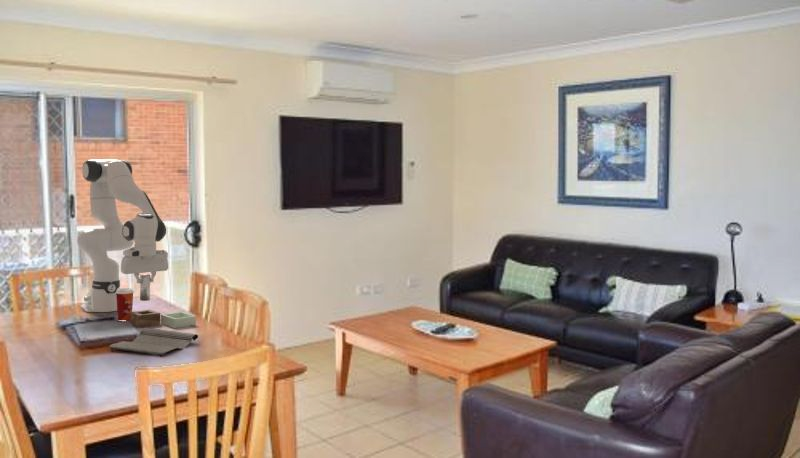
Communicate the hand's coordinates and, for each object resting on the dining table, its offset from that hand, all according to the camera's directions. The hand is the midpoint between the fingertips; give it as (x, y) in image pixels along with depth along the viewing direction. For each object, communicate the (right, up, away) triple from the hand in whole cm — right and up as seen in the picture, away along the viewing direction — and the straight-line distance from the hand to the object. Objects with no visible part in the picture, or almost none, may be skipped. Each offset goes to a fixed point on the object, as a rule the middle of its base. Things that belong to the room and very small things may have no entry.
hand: (145, 282), depth 289 cm
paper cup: (-12, -18, +7) cm, 22 cm away
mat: (+18, -22, -36) cm, 46 cm away
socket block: (0, -18, +1) cm, 18 cm away
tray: (+14, -19, +3) cm, 23 cm away
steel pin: (0, -8, +1) cm, 8 cm away
